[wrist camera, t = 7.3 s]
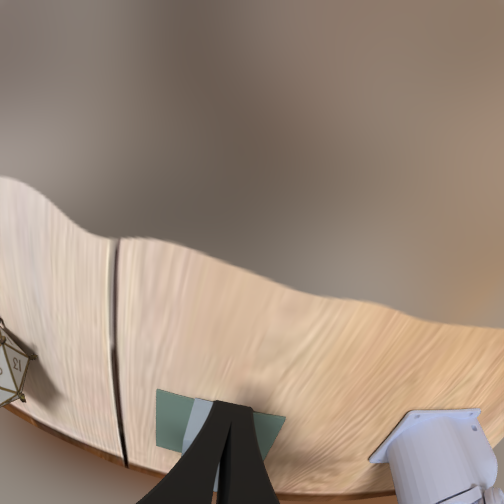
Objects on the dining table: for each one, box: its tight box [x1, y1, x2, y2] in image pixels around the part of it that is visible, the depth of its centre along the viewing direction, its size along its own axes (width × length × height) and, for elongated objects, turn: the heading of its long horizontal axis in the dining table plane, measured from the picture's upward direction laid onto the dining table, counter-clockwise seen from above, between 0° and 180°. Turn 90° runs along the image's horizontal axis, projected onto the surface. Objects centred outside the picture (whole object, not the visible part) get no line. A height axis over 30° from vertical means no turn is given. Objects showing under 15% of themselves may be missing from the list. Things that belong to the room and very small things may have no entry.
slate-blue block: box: [181, 398, 220, 492], centre depth 21 cm, size 4×4×8 cm
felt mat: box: [156, 389, 286, 461], centre depth 23 cm, size 10×9×1 cm
